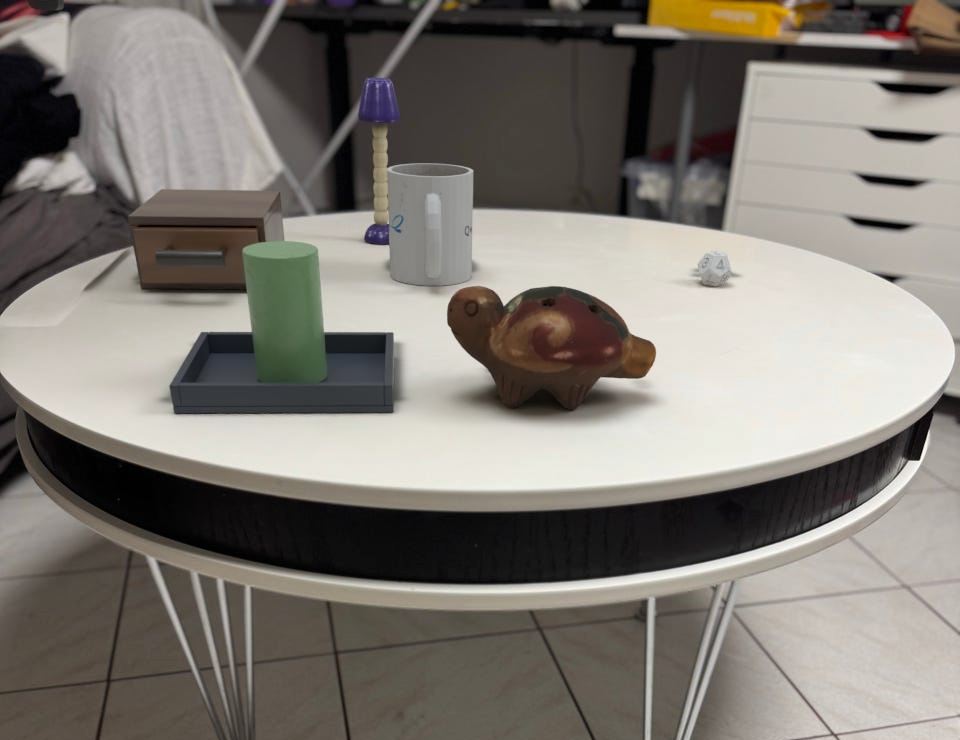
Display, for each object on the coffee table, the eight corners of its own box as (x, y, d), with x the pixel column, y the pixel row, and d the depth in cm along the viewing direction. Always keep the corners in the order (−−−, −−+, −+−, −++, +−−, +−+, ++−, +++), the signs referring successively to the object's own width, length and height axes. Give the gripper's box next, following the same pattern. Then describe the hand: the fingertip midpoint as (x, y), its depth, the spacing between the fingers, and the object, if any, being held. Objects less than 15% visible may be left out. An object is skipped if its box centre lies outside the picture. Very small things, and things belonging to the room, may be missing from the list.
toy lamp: (410, 240, 109) (407, 78, 100) (386, 247, 106) (381, 80, 96) (379, 235, 111) (373, 75, 102) (354, 241, 108) (346, 77, 99)
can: (253, 388, 66) (236, 257, 61) (261, 364, 70) (247, 240, 65) (325, 388, 66) (314, 258, 61) (329, 364, 71) (320, 241, 65)
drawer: (256, 295, 85) (250, 240, 82) (131, 294, 84) (121, 239, 81) (277, 252, 99) (272, 204, 96) (171, 251, 98) (163, 202, 96)
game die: (722, 279, 98) (727, 249, 96) (734, 288, 94) (739, 257, 93) (690, 279, 97) (695, 249, 95) (701, 288, 94) (706, 257, 92)
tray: (174, 413, 63) (169, 385, 62) (204, 356, 73) (201, 331, 72) (393, 412, 64) (392, 384, 63) (394, 356, 74) (393, 332, 73)
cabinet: (271, 289, 90) (263, 217, 86) (141, 289, 89) (127, 215, 85) (286, 255, 102) (280, 190, 98) (171, 254, 101) (160, 189, 97)
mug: (398, 263, 100) (396, 161, 94) (476, 267, 99) (478, 165, 93) (375, 292, 90) (370, 180, 84) (461, 297, 89) (462, 185, 83)
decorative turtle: (435, 377, 70) (442, 267, 66) (623, 385, 73) (641, 280, 68) (449, 418, 62) (458, 296, 58) (660, 426, 64) (683, 309, 60)
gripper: (-38, -293, 64) (25, 7, 74) (-127, -351, 53) (-39, 9, 63) (71, -286, 64) (120, 10, 74) (5, -343, 54) (72, 13, 64)
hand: (47, 9), depth 69 cm, fingers closed
